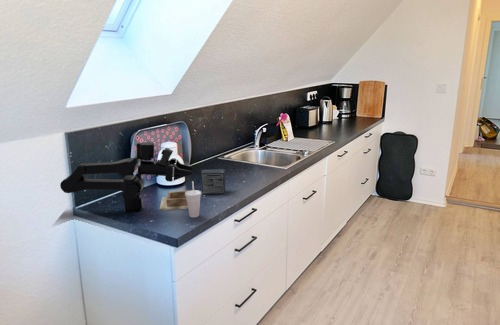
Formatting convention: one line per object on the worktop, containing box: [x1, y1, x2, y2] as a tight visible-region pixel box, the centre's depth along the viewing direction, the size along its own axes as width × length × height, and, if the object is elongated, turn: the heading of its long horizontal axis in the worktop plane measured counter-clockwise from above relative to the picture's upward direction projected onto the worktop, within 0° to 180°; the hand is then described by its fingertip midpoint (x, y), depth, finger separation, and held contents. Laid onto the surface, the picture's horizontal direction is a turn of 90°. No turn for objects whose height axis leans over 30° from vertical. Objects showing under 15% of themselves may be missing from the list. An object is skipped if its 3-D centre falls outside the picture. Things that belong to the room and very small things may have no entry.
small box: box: [200, 168, 226, 196], centre depth 187 cm, size 11×6×10 cm, turn 92°
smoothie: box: [185, 180, 202, 218], centre depth 160 cm, size 6×6×14 cm
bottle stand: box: [159, 190, 188, 211], centre depth 175 cm, size 16×14×4 cm
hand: (192, 170), depth 167 cm, fingers open, 9 cm apart
